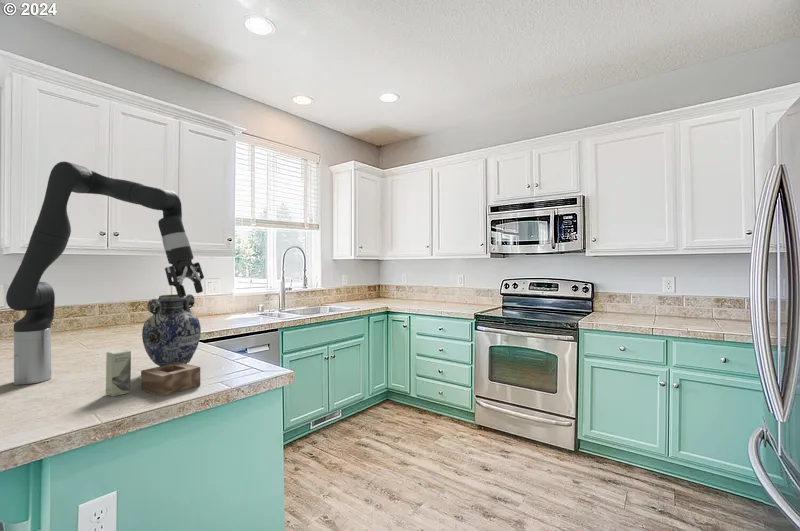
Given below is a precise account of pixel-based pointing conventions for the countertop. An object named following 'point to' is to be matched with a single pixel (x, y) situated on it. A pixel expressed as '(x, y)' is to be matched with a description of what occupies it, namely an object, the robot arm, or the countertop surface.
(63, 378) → the countertop surface
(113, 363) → the box
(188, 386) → the holder block
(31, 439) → the countertop surface
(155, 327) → the decorative vase
